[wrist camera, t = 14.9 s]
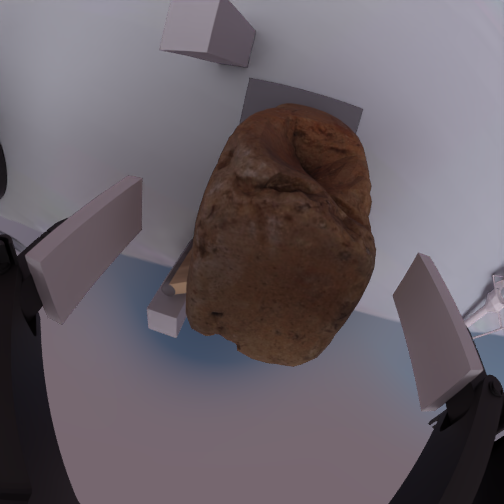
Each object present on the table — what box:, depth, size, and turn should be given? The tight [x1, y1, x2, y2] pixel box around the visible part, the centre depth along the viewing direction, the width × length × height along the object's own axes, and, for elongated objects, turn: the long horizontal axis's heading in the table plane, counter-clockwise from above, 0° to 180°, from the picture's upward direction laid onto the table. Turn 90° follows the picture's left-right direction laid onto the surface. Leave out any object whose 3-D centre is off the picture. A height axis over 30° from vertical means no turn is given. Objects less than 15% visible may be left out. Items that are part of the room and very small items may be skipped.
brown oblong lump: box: [186, 103, 376, 367], centre depth 18 cm, size 11×8×20 cm
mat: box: [239, 78, 363, 134], centre depth 26 cm, size 11×14×1 cm
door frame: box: [147, 0, 256, 338], centre depth 23 cm, size 3×28×12 cm, turn 168°
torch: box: [464, 275, 504, 339], centre depth 30 cm, size 6×9×25 cm
